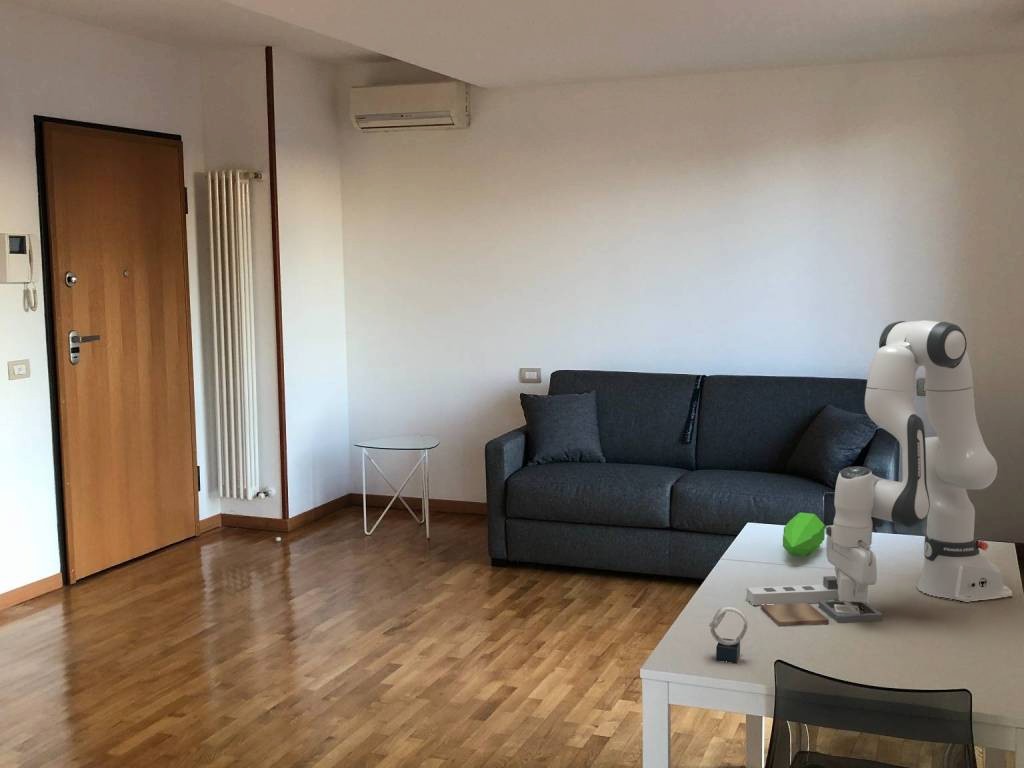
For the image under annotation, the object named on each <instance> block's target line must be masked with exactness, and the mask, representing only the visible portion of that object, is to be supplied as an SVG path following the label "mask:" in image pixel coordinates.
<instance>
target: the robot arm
mask: <svg viewBox="0 0 1024 768" xmlns="http://www.w3.org/2000/svg"><path fill="white" fill-rule="evenodd" d="M967 344H968V343H967V337H966V335H965V332H964V330H963V329H962V328H961V327H960V326H959V325H957V324H954V323H951V322H947V321H937V320H929V319H928V320H926V319H922V320H913V321H905V320H902V321H901V320H900V321H896V322H892V323H890V324H887V326H885V327H884V329H883V330H882V332H881V334H880V337H879V343H878V349H877V350H876V351H875V353H874V356H873V358H872V362H871V365H870V368H869V371H868V375H867V376H868V377H867V381H866V387H865V394H864V409H865V412H866V414H867V415H868V417H869V419H870V420H871V421H872V422H873V423H874V424H875V425H877V426H878V427H879V428H881V429H883V430H884V431H886V432H887V433H889V434H891V435H892V436H893V437H894V438H896V440H897V441H898V442H899V444H900V446H901V455H902V457H901V459H902V463H901V465H902V481H896V480H891V479H886V478H883V477H880V476H879V477H878V476H876V475H875V474H873V473H872V470H871V469H869V468H868V467H864V466H858V465H857V466H848V467H845V468H842V469H841V470H840V471H839V473H838V475H837V478H836V481H835V490H834V501H833V502H834V509H835V516H834V518H833V524H832V525H831V524H830V525H825V535H826V543H825V544H826V545H825V546H826V547H825V549H826V551H825V552H826V558H827V561H828V563H829V564H831V565H833V566H834V571H835V577H837V585H838V574H839V570H841V571H842V572H844V573H845V574H847V575H848V576H850V577H851V578H852V579H854V580H855V581H856V585H857V587H856V590H854V597H855V598H857V599H863V598H864V591H865V589H866V587H867V585H868V586H871V585H872V586H873V585H875V584H876V583H877V580H878V579H877V576H878V574H877V571H878V570H877V557H876V554H875V552H874V551H872V547H871V546H872V544H873V539H872V538H873V520H872V519H873V518H875V519H879V520H884V521H888V522H892V523H894V524H896V525H897V524H898V525H900V526H903V527H906V528H912V527H916V526H917V525H918V524H920V523H922V522H923V521H924V520H925V519H927V520H926V521H927V522H926V534H925V535H924V541H923V543H924V545H923V553H924V554H923V555H924V559H923V560H924V561H923V567H922V571H921V575H920V579H919V582H918V584H917V586H916V587H917V589H918V591H919V592H921V591H922V592H921V593H923V594H925V593H927V594H926V595H928V594H929V596H931V595H933V596H932V597H935V596H938V597H937V598H939V597H945V598H951V599H950V600H952V599H957V600H963V601H971V600H975V599H982V598H988V597H994V596H1002V595H1011V594H1012V595H1013V591H1012V590H1011V589H1010V588H1009V587H1008V586H1007V585H1005V584H1004V580H1003V579H1004V578H1003V575H1002V574H1003V573H1002V572H1001V570H1000V568H999V567H998V566H997V565H995V564H994V562H992V561H990V560H989V559H988V558H986V556H984V555H983V554H981V552H980V550H982V551H987V550H988V549H989V544H988V542H986V541H983V540H979V539H977V538H975V535H974V534H975V518H976V517H975V515H976V510H975V507H974V504H973V503H972V502H971V500H970V498H969V495H968V492H967V490H983V489H986V488H988V487H989V486H991V485H992V484H993V482H994V480H995V479H996V478H997V474H998V463H997V461H996V459H995V457H994V456H993V455H992V453H990V451H989V450H988V447H987V446H986V444H985V441H984V438H983V436H982V433H981V431H980V428H979V424H978V420H977V415H976V409H975V408H976V407H975V396H974V395H975V393H974V391H975V390H974V380H973V373H972V365H971V362H970V357H969V354H968V351H967ZM920 367H923V368H924V369H925V374H924V377H925V378H924V379H925V380H924V383H925V401H926V415H927V419H928V422H929V424H930V425H931V426H932V427H933V429H934V430H935V433H936V436H929V437H926V431H925V426H924V422H923V420H922V418H921V417H920V416H919V415H918V414H917V411H916V406H915V392H916V391H915V389H916V377H917V375H916V374H917V371H918V369H919V368H920ZM872 517H873V518H872ZM1004 589H1007V590H1009V591H1005V590H1004ZM945 598H944V599H945Z"/></svg>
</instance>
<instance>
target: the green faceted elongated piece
mask: <svg viewBox="0 0 1024 768" xmlns="http://www.w3.org/2000/svg"><path fill="white" fill-rule="evenodd" d="M825 529H826V524H825V523H823V522H822V520H821V519H820V518H819V517H818V516H817V515H816V514H815V513H809V512H799V513H797V514H796V515H795V516H794V517H793V518H790V520H789V521H788V522H787V523H786V525H784V527H783V535H782V547H783V548H784V550H785V551H786V552H787V553H788V555H790V556H794V557H800V558H803V557H805V556H810V555H811V554H813V553H814V552H815V551H816V550H817V549H819V548H820V547H821V544H822V543H823V542H824V541H825V535H826V533H825Z"/></svg>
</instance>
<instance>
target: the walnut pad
mask: <svg viewBox="0 0 1024 768" xmlns="http://www.w3.org/2000/svg"><path fill="white" fill-rule="evenodd" d="M761 609H762V610H763V611H764V612H763V611H762V612H763V613H764V614H765V615H767V617H769V618H770V619H771V620H772V621H773V622H774V623H775V624H776V625H777V626H778V627H788V626H790V627H791V626H807V625H808V626H810V625H812V626H813V625H829V621H830V620H829V618H827V617H826V616H825V615H823V614H822V613H821V612H820V611H819V610H818V609H816V608H815V607H814V606H812V605H811V603H797V604H774V605H761V606H760V610H761Z"/></svg>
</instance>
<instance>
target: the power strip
mask: <svg viewBox="0 0 1024 768" xmlns="http://www.w3.org/2000/svg"><path fill="white" fill-rule="evenodd" d="M822 577H823V578H822V580H823V581H822V584H805V585H804V584H803V585H801V584H799V585H780V586H779V585H778V586H758V587H757V586H755V587H752V586H751V587H746V598H745V599H746V600H747V601H748V600H749V601H750V602H751V603H752V604H753V605H762V604H764V605H767V604H797V603H809V604H819V601H829V600H834V601H837V600H839V596H838V585H837V576H836V575H830V576H828V575H827V576H822ZM749 601H748V602H749ZM750 602H749V603H750ZM751 603H750V604H751ZM752 604H751V605H752ZM753 605H752V606H753Z"/></svg>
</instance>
